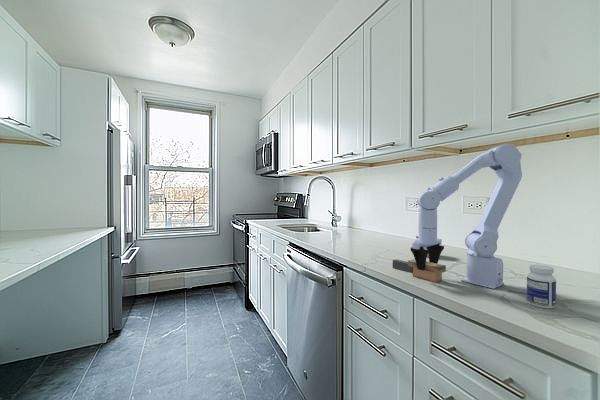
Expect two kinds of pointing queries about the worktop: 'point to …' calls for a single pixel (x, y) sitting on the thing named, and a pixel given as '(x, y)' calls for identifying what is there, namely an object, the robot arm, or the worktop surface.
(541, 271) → the pill bottle
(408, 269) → the rubber mat block
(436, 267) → the walnut sheet
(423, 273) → the tan rectangular block
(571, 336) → the worktop surface
